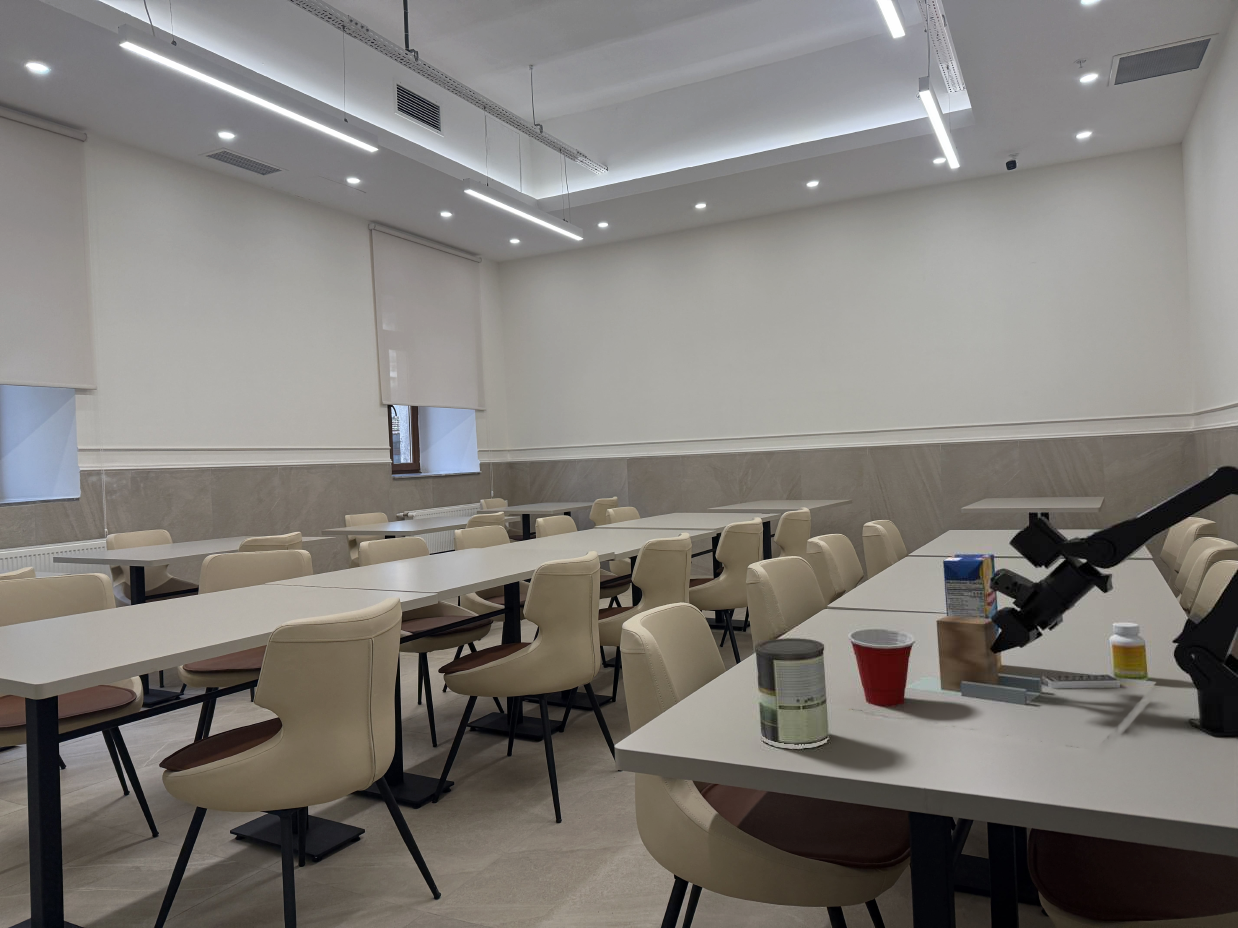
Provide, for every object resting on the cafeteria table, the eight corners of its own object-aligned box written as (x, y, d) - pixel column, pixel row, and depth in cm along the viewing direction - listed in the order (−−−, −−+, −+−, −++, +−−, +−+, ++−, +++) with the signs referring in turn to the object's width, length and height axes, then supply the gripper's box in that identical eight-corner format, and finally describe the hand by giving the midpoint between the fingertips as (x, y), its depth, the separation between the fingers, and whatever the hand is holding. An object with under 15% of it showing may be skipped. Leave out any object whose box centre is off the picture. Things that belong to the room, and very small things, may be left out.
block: (999, 689, 136) (994, 619, 137) (989, 696, 133) (983, 624, 133) (952, 682, 142) (947, 615, 142) (941, 689, 138) (936, 620, 138)
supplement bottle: (1153, 683, 137) (1149, 626, 137) (1119, 683, 138) (1115, 627, 139) (1140, 675, 143) (1135, 621, 143) (1107, 675, 144) (1103, 621, 144)
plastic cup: (876, 719, 127) (871, 643, 127) (840, 702, 137) (835, 632, 137) (934, 710, 130) (929, 636, 130) (894, 693, 140) (890, 625, 140)
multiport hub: (1121, 694, 133) (1120, 680, 133) (1051, 695, 135) (1050, 681, 135) (1109, 687, 138) (1108, 674, 138) (1042, 688, 139) (1041, 675, 139)
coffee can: (748, 742, 119) (742, 648, 120) (780, 723, 127) (775, 635, 128) (811, 754, 113) (804, 655, 113) (841, 733, 121) (835, 641, 121)
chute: (1042, 696, 133) (1041, 678, 133) (1025, 709, 127) (1024, 690, 127) (925, 680, 147) (924, 664, 147) (904, 692, 141) (903, 675, 141)
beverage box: (951, 678, 148) (942, 560, 148) (964, 665, 157) (956, 554, 157) (991, 682, 144) (982, 560, 144) (1001, 668, 153) (993, 554, 153)
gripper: (1038, 547, 138) (976, 606, 145) (1000, 559, 124) (935, 623, 132) (1092, 595, 132) (1025, 654, 140) (1059, 614, 119) (987, 677, 126)
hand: (993, 651), depth 134 cm, fingers closed, pressing on block
